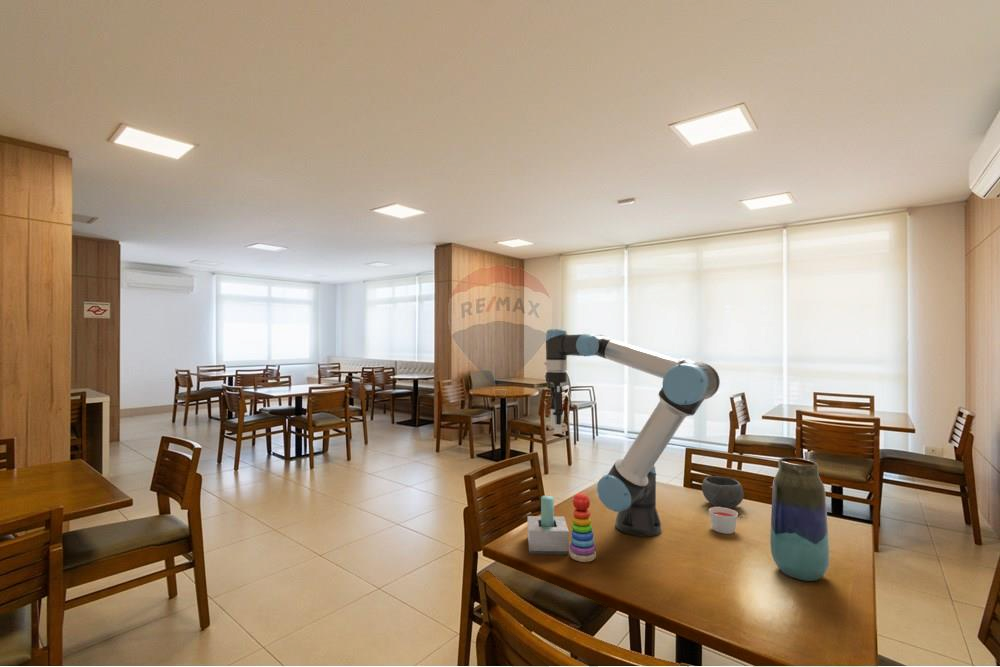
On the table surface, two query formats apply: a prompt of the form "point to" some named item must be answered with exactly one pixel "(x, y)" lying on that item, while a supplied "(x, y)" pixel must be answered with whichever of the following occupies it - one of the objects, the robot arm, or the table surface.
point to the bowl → (722, 491)
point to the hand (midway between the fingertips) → (556, 429)
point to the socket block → (548, 536)
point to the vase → (799, 520)
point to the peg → (547, 511)
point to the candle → (723, 519)
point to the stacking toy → (582, 531)
